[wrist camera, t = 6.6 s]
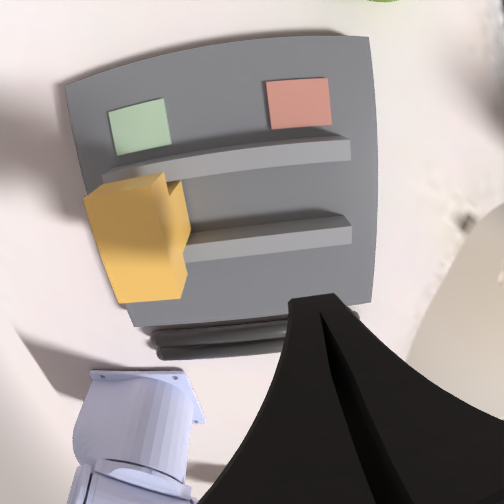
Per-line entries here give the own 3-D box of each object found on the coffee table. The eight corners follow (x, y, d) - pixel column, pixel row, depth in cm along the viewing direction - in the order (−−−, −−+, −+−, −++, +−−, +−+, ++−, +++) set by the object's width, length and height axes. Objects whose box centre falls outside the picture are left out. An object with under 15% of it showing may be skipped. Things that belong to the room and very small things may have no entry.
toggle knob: (145, 254, 18) (118, 303, 13) (123, 170, 15) (82, 199, 11) (195, 247, 17) (180, 298, 13) (177, 159, 15) (150, 185, 11)
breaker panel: (156, 353, 24) (148, 381, 21) (77, 85, 14) (50, 86, 12) (359, 332, 23) (370, 360, 20) (359, 40, 14) (379, 32, 11)
